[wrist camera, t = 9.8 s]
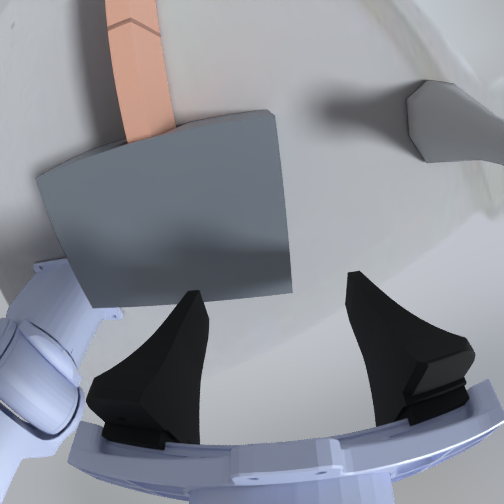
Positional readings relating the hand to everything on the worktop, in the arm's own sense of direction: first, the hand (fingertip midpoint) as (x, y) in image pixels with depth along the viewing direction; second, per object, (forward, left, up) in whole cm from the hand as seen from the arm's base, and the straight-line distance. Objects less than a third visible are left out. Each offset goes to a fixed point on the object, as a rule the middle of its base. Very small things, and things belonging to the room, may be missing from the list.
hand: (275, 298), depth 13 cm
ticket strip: (-6, +14, -9) cm, 18 cm away
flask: (+15, +7, -10) cm, 19 cm away
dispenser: (-6, +3, -9) cm, 12 cm away
